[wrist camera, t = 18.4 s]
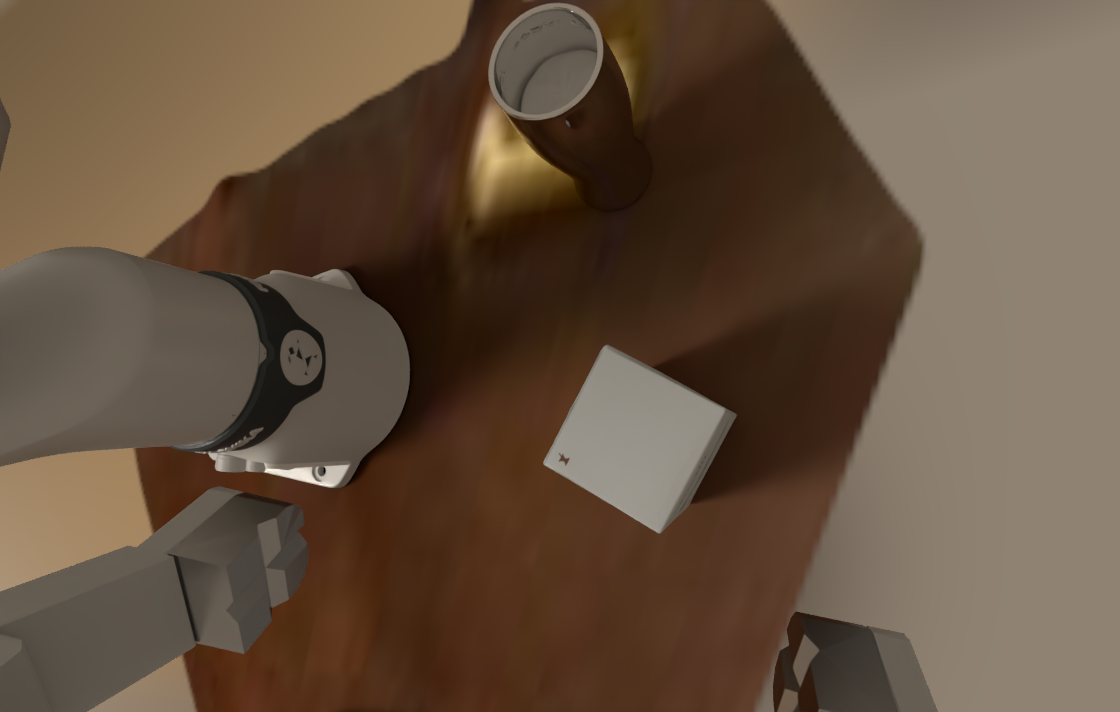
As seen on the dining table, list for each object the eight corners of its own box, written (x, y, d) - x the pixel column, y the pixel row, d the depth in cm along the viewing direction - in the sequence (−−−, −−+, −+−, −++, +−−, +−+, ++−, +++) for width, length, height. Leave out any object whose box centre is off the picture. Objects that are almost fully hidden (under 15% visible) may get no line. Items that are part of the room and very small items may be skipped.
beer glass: (663, 128, 45) (615, -8, 31) (651, 218, 44) (597, 122, 30) (576, 130, 47) (494, 4, 33) (563, 215, 47) (475, 125, 33)
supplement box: (689, 508, 41) (658, 541, 29) (599, 453, 44) (536, 463, 32) (741, 414, 41) (731, 409, 29) (647, 364, 43) (601, 340, 31)
